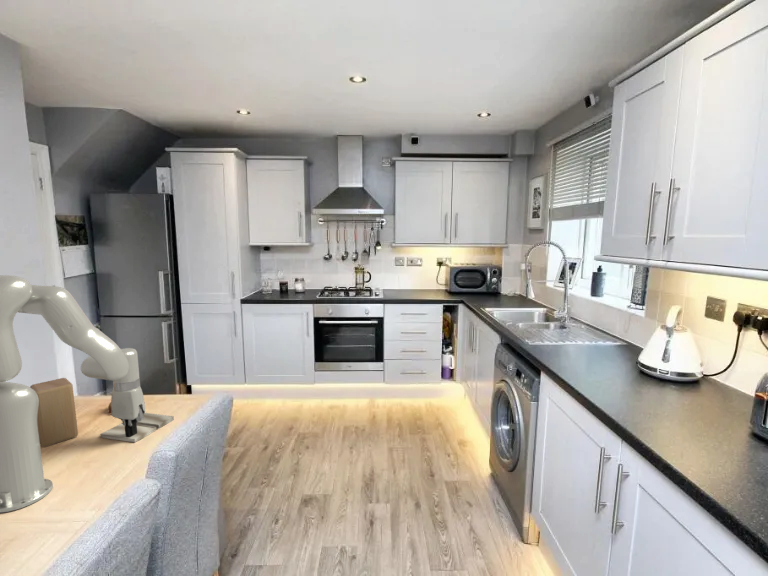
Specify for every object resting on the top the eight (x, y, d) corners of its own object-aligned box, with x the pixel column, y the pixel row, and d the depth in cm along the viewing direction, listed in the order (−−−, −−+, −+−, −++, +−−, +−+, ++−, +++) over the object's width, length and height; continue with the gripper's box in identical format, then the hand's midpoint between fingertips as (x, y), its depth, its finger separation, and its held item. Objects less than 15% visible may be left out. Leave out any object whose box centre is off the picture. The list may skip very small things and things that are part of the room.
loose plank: (134, 442, 130) (134, 438, 130) (100, 437, 134) (100, 433, 134) (156, 430, 139) (156, 426, 139) (123, 425, 142) (123, 422, 142)
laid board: (157, 429, 139) (157, 425, 139) (124, 425, 143) (124, 421, 143) (173, 419, 147) (173, 416, 146) (142, 415, 150) (141, 412, 150)
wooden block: (71, 428, 141) (65, 376, 138) (79, 437, 134) (72, 382, 132) (35, 439, 133) (28, 384, 130) (41, 449, 127) (34, 391, 124)
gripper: (99, 386, 129) (104, 438, 131) (135, 390, 125) (139, 443, 127) (119, 379, 136) (124, 427, 138) (153, 382, 132) (157, 432, 134)
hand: (131, 435), depth 133 cm, fingers closed
